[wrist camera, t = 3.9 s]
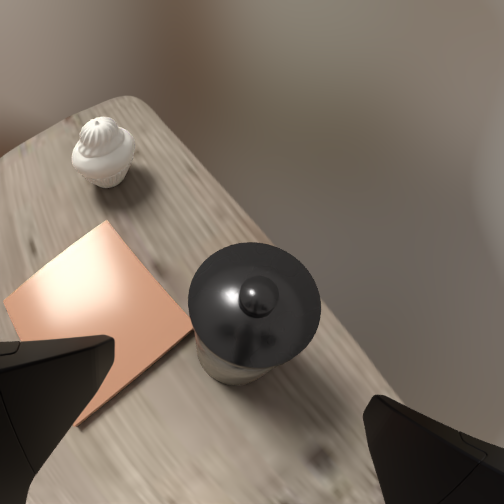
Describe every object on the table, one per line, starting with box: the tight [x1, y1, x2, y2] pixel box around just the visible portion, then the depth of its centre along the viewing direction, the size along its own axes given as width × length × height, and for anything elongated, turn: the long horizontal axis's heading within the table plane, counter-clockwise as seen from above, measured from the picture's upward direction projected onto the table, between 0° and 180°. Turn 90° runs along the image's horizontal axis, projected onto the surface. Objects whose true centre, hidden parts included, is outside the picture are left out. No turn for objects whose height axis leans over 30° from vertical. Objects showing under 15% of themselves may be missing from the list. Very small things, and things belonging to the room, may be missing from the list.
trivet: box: [3, 220, 194, 427], centre depth 20 cm, size 12×12×1 cm
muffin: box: [72, 117, 135, 188], centre depth 24 cm, size 6×6×7 cm
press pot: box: [188, 242, 321, 385], centre depth 17 cm, size 6×6×10 cm
